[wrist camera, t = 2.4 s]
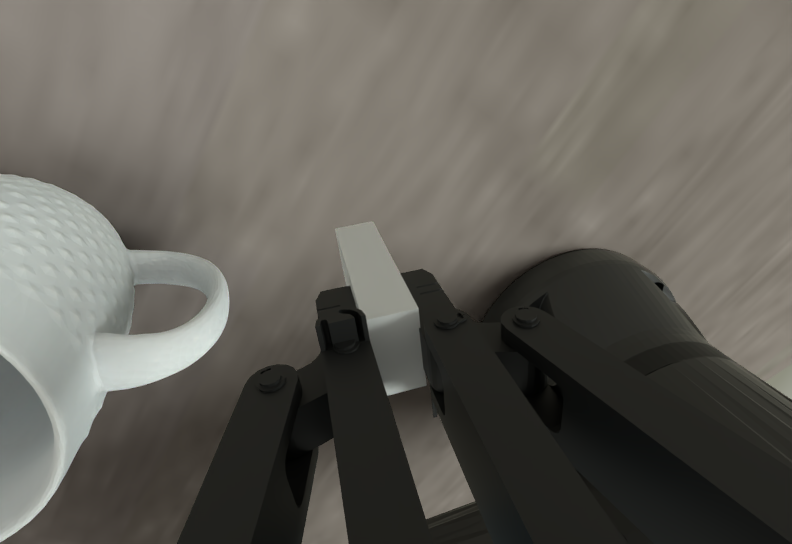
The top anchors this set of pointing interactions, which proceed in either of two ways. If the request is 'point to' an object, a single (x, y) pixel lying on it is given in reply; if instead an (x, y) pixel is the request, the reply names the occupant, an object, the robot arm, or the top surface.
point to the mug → (76, 332)
